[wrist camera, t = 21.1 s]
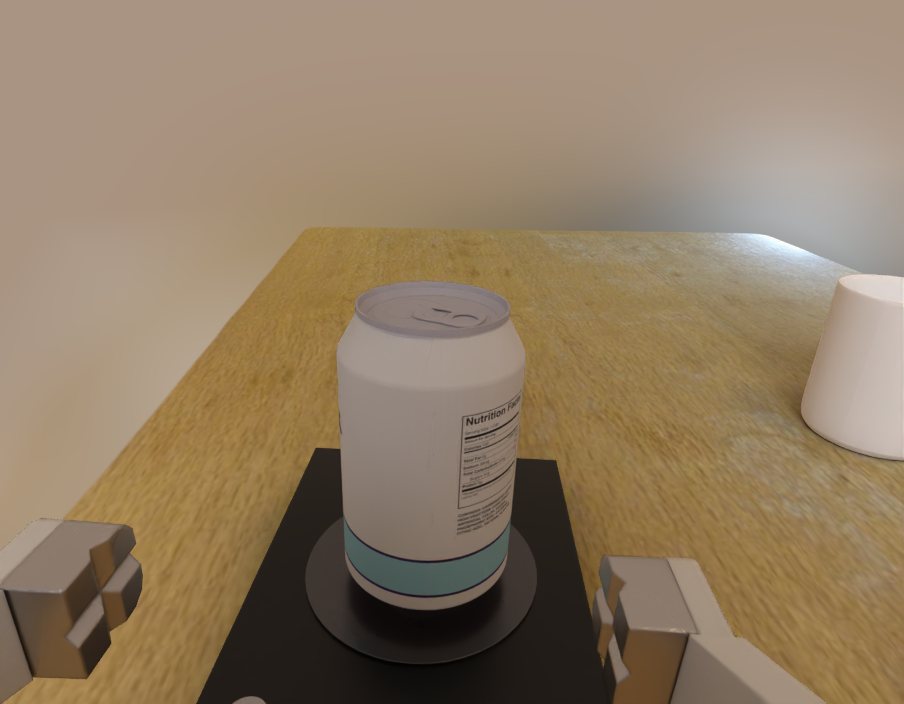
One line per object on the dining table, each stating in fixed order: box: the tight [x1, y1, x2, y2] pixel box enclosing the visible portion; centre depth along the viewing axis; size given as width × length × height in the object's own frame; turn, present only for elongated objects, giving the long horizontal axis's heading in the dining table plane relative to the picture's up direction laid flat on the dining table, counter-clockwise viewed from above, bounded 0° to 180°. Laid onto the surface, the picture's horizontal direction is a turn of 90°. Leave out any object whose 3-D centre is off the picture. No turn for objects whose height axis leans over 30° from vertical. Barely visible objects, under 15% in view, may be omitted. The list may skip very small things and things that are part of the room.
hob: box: [196, 448, 608, 704], centre depth 26 cm, size 18×14×2 cm
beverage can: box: [337, 281, 526, 610], centre depth 23 cm, size 7×7×12 cm
